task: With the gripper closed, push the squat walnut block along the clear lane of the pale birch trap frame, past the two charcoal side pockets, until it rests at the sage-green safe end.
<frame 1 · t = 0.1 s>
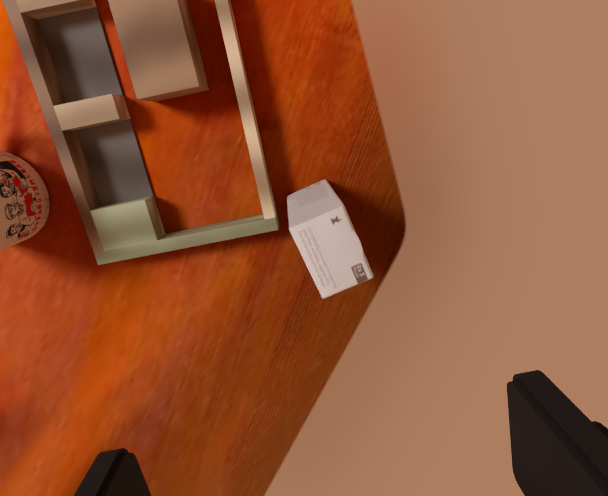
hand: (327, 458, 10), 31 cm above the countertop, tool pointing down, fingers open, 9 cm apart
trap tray: (163, 112, 37), on the countertop
block: (169, 47, 36), on the countertop
skincare box: (319, 215, 41), on the countertop
teacup with lid: (1, 181, 39), on the countertop
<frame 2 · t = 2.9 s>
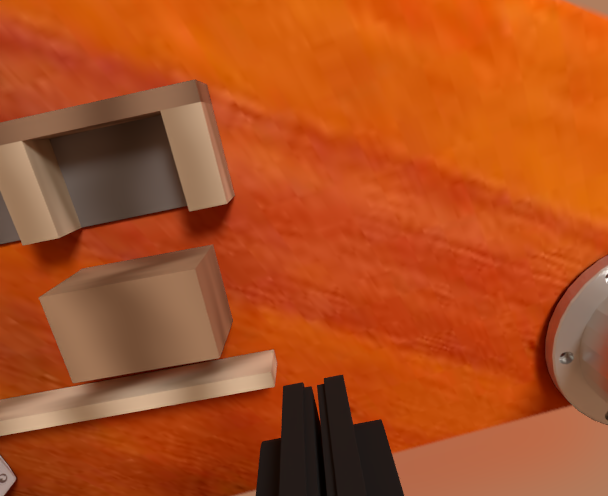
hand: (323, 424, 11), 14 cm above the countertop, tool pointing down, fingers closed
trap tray: (68, 280, 25), on the countertop
block: (160, 294, 26), on the countertop
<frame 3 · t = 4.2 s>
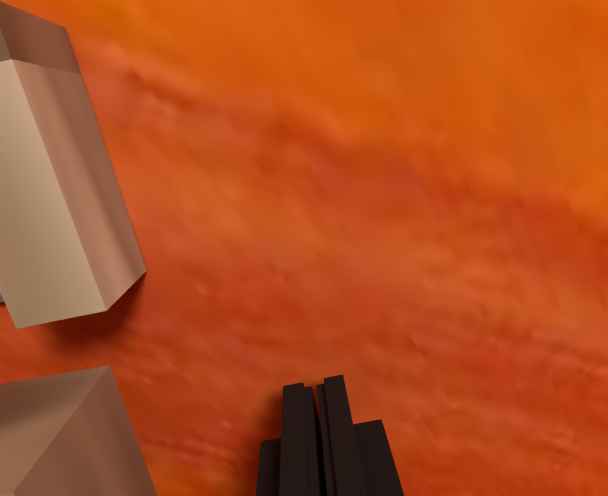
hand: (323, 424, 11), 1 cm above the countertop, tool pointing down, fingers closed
block: (13, 452, 13), on the countertop
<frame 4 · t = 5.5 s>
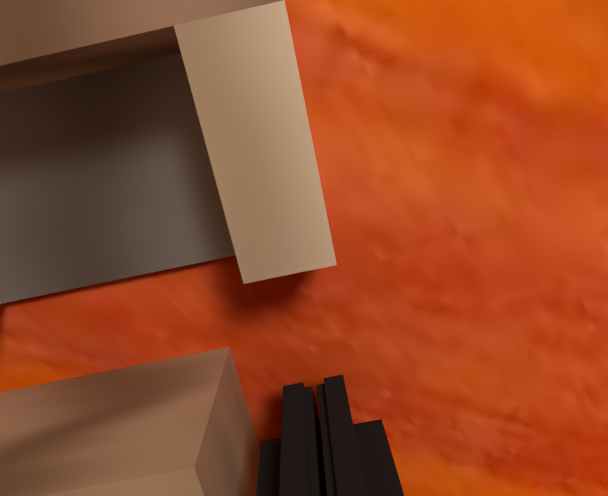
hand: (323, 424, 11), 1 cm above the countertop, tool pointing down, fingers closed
block: (126, 438, 13), on the countertop, touching gripper
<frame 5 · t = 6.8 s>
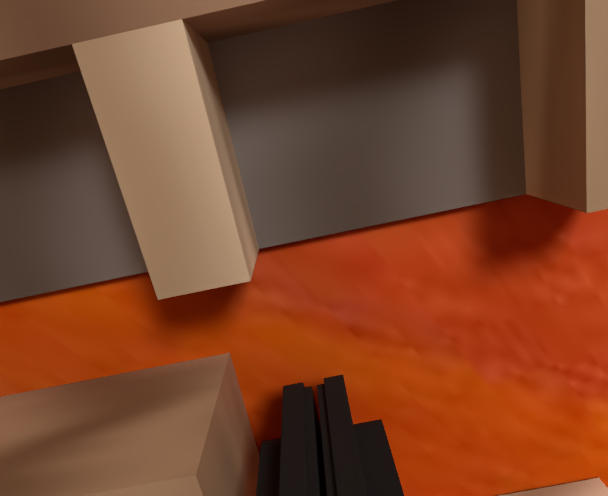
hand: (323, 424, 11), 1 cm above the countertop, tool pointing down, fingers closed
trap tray: (216, 358, 12), on the countertop
block: (125, 443, 13), on the countertop
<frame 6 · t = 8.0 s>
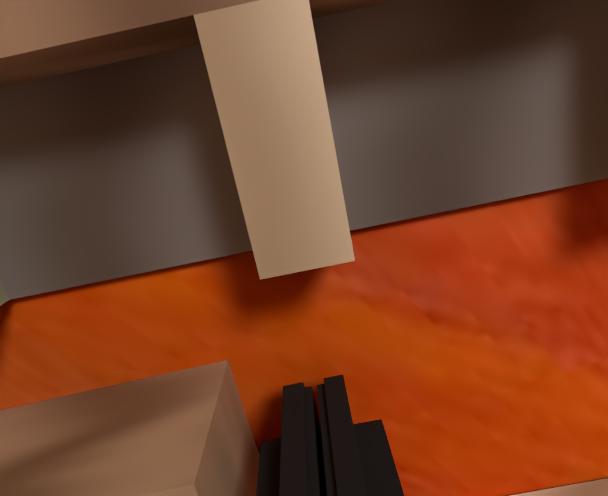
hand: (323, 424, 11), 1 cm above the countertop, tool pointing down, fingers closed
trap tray: (290, 344, 12), on the countertop
block: (128, 451, 13), on the countertop
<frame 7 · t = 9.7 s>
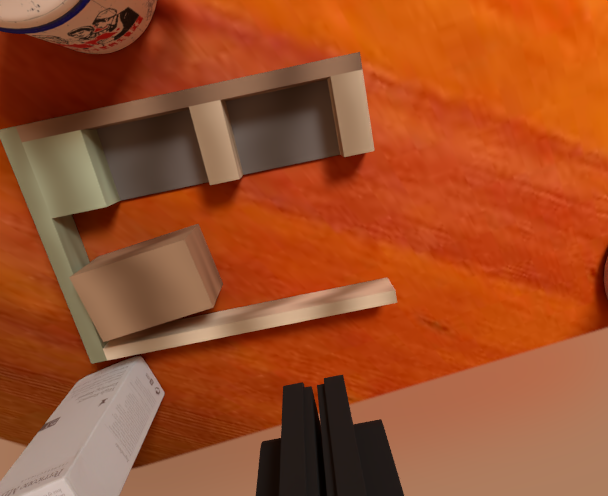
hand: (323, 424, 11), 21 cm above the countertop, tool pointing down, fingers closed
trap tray: (226, 220, 31), on the countertop
block: (162, 269, 32), on the countertop
skincare box: (123, 386, 35), on the countertop
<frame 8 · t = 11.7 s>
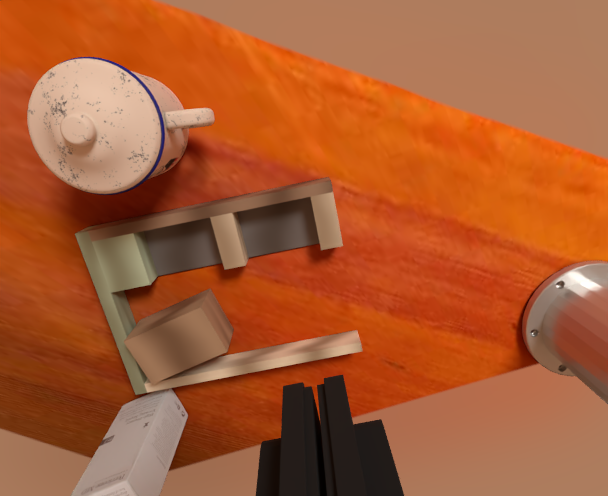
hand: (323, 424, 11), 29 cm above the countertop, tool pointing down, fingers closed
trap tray: (236, 289, 41), on the countertop
block: (187, 324, 43), on the countertop
skincare box: (156, 409, 46), on the countertop
teacup with lid: (157, 125, 37), on the countertop
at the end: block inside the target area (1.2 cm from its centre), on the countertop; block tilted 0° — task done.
